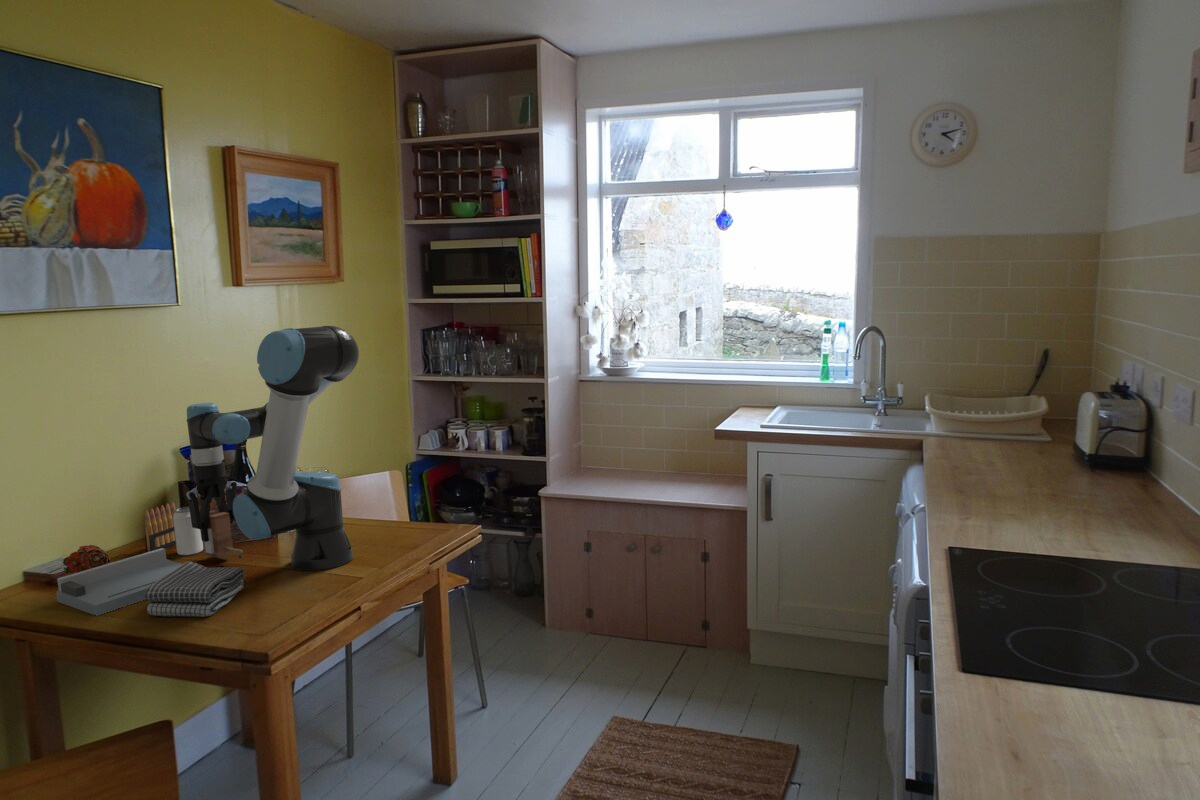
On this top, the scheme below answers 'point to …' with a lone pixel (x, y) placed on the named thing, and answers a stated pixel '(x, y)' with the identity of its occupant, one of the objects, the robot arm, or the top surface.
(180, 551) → the can
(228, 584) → the towel
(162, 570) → the board
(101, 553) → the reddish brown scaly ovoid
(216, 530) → the brown blocky piece
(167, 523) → the ammunition clip
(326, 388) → the robot arm
